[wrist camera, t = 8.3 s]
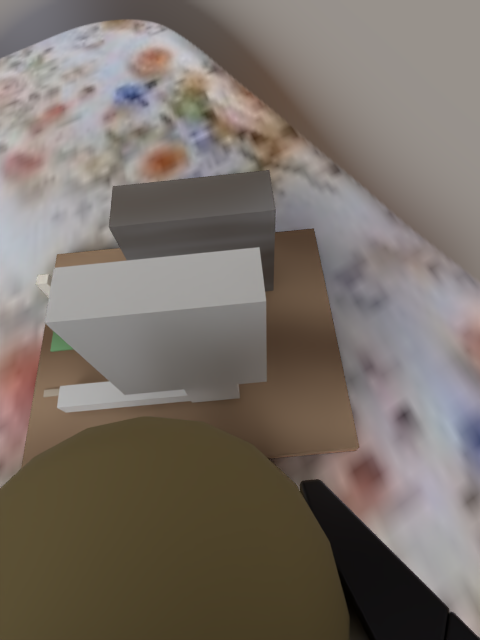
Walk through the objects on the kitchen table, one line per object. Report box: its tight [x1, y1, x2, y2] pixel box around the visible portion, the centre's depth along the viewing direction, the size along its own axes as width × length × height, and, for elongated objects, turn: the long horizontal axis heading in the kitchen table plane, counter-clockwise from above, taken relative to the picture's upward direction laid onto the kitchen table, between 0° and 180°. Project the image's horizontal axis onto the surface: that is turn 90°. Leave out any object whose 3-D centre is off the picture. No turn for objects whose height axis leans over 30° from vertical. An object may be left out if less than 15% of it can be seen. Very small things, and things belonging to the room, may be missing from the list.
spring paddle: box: [45, 247, 267, 413], centre depth 12 cm, size 2×8×10 cm, turn 94°
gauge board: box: [21, 170, 359, 469], centre depth 16 cm, size 11×14×6 cm
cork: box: [0, 416, 350, 640], centre depth 9 cm, size 6×6×11 cm
